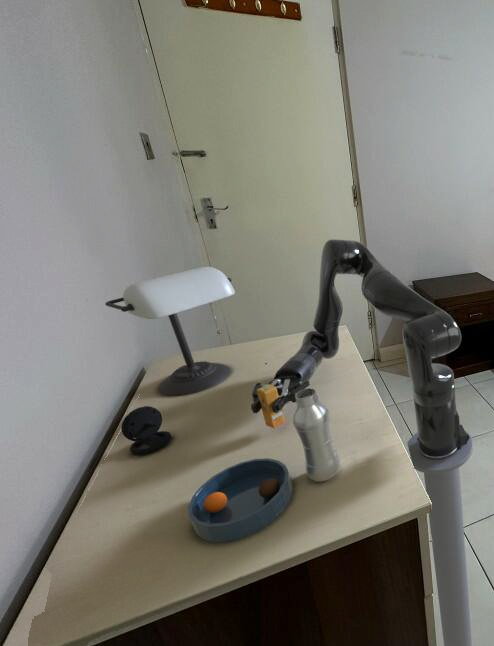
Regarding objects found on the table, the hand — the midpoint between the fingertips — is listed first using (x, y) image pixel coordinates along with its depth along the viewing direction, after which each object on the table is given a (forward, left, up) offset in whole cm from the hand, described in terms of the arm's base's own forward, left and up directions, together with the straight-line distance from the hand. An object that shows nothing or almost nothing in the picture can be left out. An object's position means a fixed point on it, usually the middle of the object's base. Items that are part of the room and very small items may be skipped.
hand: (264, 409), depth 91 cm
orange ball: (+7, +20, -5) cm, 22 cm away
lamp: (+23, -37, -8) cm, 44 cm away
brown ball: (-2, +20, -5) cm, 21 cm away
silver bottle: (-12, +18, -8) cm, 23 cm away
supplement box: (-1, -3, -6) cm, 7 cm away
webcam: (+26, -8, -8) cm, 28 cm away
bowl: (+2, +20, -8) cm, 22 cm away
